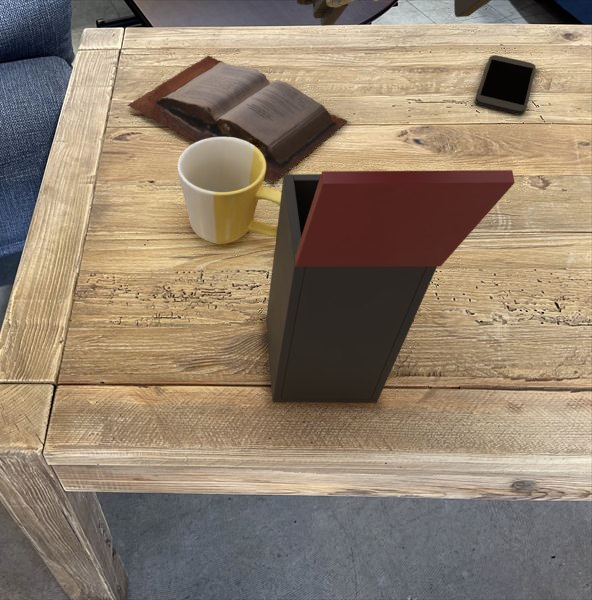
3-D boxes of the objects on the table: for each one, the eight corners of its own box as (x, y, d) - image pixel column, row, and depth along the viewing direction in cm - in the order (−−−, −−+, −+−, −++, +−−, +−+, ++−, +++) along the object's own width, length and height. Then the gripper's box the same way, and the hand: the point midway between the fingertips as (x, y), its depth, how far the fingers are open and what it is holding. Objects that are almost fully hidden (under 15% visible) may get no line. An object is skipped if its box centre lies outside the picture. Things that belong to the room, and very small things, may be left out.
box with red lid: (266, 319, 68) (283, 173, 52) (360, 319, 67) (408, 173, 51) (272, 402, 61) (294, 266, 45) (377, 403, 61) (438, 265, 45)
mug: (164, 232, 77) (158, 166, 69) (215, 191, 81) (216, 125, 73) (248, 285, 71) (253, 220, 63) (298, 237, 76) (309, 172, 67)
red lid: (321, 170, 34) (322, 184, 34) (512, 169, 34) (515, 182, 33) (294, 256, 45) (295, 266, 44) (439, 256, 44) (440, 266, 44)
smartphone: (535, 67, 98) (538, 62, 98) (524, 116, 90) (526, 111, 89) (488, 58, 101) (490, 52, 100) (472, 105, 92) (474, 100, 92)
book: (273, 188, 82) (277, 161, 78) (126, 109, 93) (124, 82, 90) (348, 128, 92) (355, 101, 89) (208, 63, 103) (209, 37, 100)
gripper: (750, -289, 21) (503, -65, 38) (354, -268, 21) (276, -52, 37) (742, -66, 22) (504, 59, 38) (362, -43, 22) (282, 73, 38)
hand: (392, 5), depth 38 cm, fingers open, 8 cm apart
